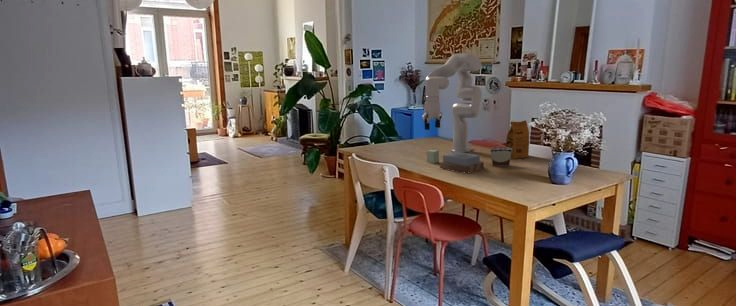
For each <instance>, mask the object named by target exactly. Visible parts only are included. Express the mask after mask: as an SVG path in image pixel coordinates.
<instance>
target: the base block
mask: <svg viewBox="0 0 736 306" xmlns="http://www.w3.org/2000/svg"><path fill="white" fill-rule="evenodd" d="M484 166H485V164H484V161H481V160H480V163H476V164H473V165H470V166H461V165H456V164H450V163H445V162H443V161H442V162H439V169H440V168H443V169H442V170H445V169H449V170H448V171H450V170H454V171H453V172H456V171H459V172H458V173H461V172H465V173H464V174H466V173H467V174H469V173H468V172H470V173H473V172H476V171H478V170H482V169H484V168H485V167H484ZM475 170H476V171H475ZM472 171H473V172H472Z"/></svg>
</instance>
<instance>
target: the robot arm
mask: <svg viewBox="0 0 736 306" xmlns="http://www.w3.org/2000/svg"><path fill="white" fill-rule="evenodd" d="M481 68H482V62H481V59H480V58H479V57H478V56H476V55H475V54H472V53H468V52H466V53H465V52H464V53H463V52H461V53H458V52H457V53H454V54H451V56H450V57H449V58H448V60H447V61H446V62H445V63H444V65H441V66H439V67H437V68H435V69H434V70H432V71H430V72H429V73H428V75H427V76H426V78H425V80H424V86H425V87H424V88H425V102H424V105H423V115H421V117H422V118H421V119H422V121H423V123H424V130H425V131H429V130H430V121H431V120H435V121H434V122H435V123H434V126H435V128H437V129H440V128H441V120H442V116H443V112H442V111H441V107H440V106H441V105H440V99H439V98H440V95H439V94H440V91H441V90H443V91H444V90H446V89H447V88H448V87H449V85H450V82H449V79H448V78H450V77H453V76H455V75H456V73H457V76H458V84H457V89H456V90H457V91H456V100H458V101H461V102H456V103H453V104H452V107H451V115H452V130H453V131H452V148H451V149H450V152H451V153H453V152H461V153H469V152H471V148H469V147H472V143H469V122H468V121H467V119H476V118H478V116H479V115H480V114H479V113H480V110H481V102H482V97H483V95H482V94H483V93H482V92H483V91H482V89H481V88H480V86H475V85H474V86H472V84H473V78H472V75H471V74H470V73H469V72H478V71H479V70H480V69H481Z"/></svg>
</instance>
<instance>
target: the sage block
mask: <svg viewBox="0 0 736 306" xmlns="http://www.w3.org/2000/svg"><path fill="white" fill-rule="evenodd" d="M428 162H429V163H428ZM436 162H437V163H440V151H439V150H437V149H428V150H426V163H428V164H433V163H434V164H437V163H436Z"/></svg>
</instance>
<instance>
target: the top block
mask: <svg viewBox="0 0 736 306" xmlns="http://www.w3.org/2000/svg"><path fill="white" fill-rule="evenodd" d="M480 159H481V155H480V154H473V153H469V152H465V153H461V152H450V153H446V154H443V155H442V162H445V163H450V164H456V165H461V166H470V165H473V164H476V163H480V161H481V160H480Z"/></svg>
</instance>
